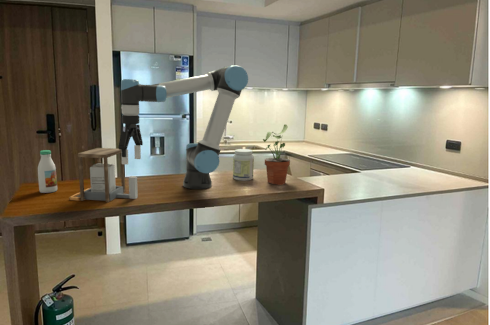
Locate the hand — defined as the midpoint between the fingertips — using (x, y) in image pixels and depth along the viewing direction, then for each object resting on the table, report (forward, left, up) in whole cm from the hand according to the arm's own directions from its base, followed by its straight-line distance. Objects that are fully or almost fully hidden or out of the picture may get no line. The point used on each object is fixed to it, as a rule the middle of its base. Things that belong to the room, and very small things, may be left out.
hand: (131, 161), depth 162 cm
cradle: (+10, 0, -17) cm, 20 cm away
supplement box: (+14, 0, -18) cm, 23 cm away
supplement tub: (-46, -50, -18) cm, 70 cm away
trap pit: (+24, 0, -17) cm, 29 cm away
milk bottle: (+44, -3, -18) cm, 48 cm away
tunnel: (+14, 0, -17) cm, 22 cm away
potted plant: (-65, -44, -18) cm, 80 cm away
